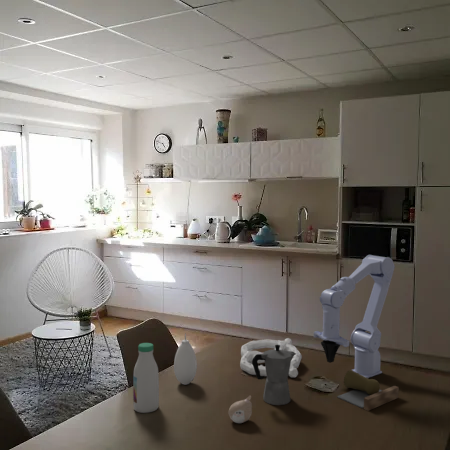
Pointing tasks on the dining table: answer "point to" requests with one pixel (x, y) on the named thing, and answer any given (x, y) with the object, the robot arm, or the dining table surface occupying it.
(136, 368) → the milk bottle
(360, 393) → the mat
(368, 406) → the stop rail
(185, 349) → the sauce bottle
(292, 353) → the coffeepot
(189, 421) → the dining table surface
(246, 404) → the garlic bulb
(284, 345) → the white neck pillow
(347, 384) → the cork
